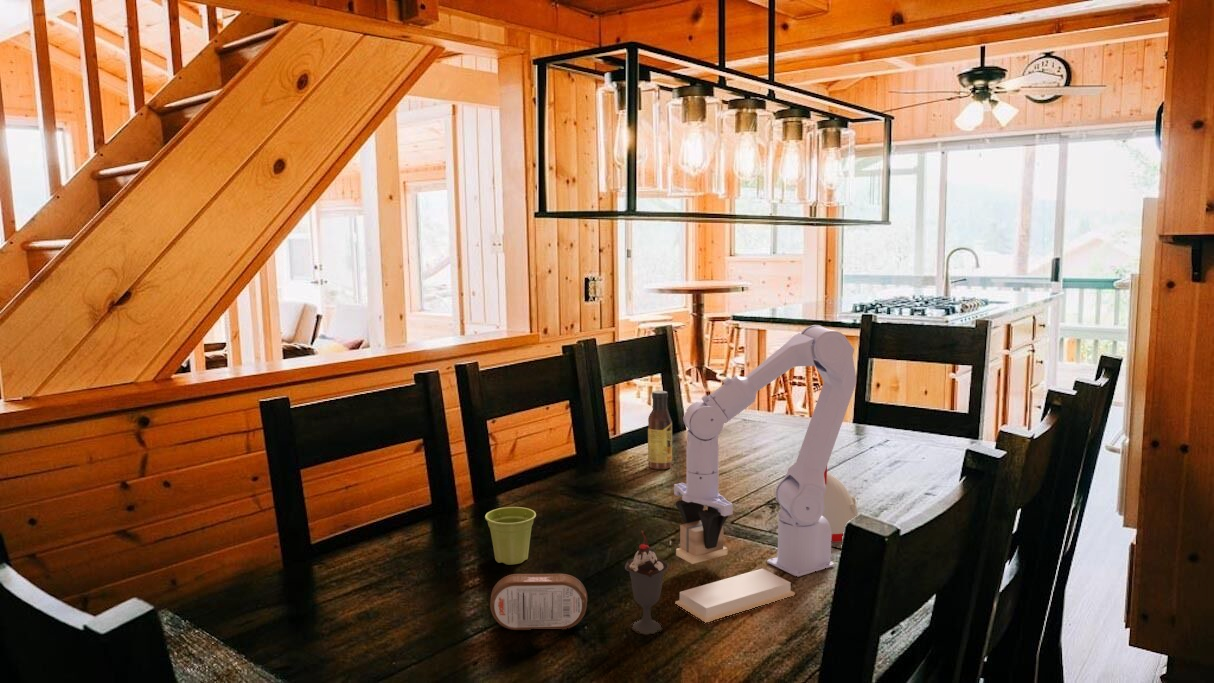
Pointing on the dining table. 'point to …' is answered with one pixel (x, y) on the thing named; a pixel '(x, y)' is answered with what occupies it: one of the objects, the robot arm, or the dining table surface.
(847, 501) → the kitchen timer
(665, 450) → the sauce bottle
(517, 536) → the plant pot
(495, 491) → the dining table surface
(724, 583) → the dock
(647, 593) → the sundae
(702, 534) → the taped parcel
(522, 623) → the tin
